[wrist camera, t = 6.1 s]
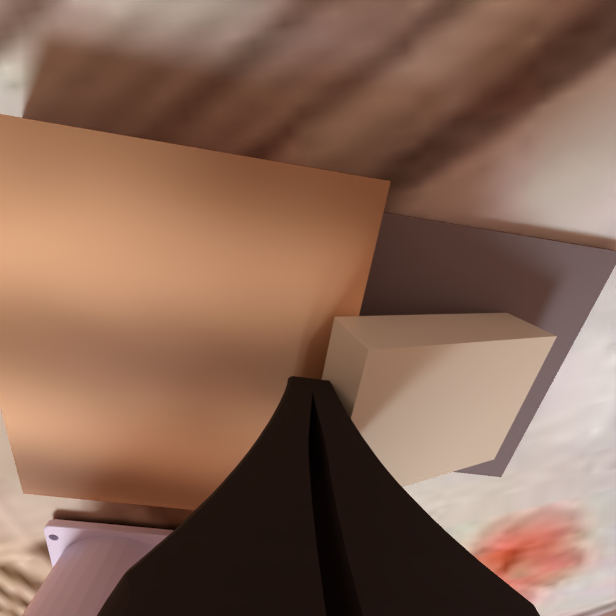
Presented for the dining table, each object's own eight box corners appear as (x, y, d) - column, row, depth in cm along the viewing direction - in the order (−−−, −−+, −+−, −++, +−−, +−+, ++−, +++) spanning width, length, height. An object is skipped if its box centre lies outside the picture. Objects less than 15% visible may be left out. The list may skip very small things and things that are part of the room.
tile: (458, 425, 15) (494, 459, 13) (305, 459, 12) (327, 509, 10) (507, 312, 13) (557, 336, 11) (334, 316, 10) (368, 349, 8)
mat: (496, 470, 17) (501, 477, 16) (319, 450, 16) (320, 457, 16) (612, 250, 12) (622, 252, 12) (374, 210, 12) (376, 212, 11)
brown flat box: (309, 464, 17) (310, 521, 14) (72, 438, 16) (23, 493, 13) (370, 180, 11) (390, 181, 9) (20, 120, 11) (-82, 100, 8)
